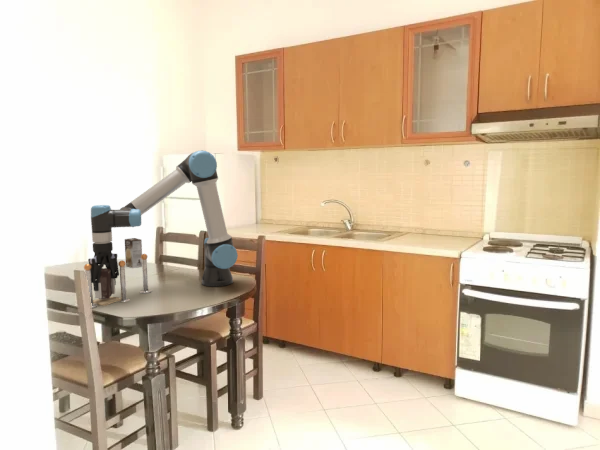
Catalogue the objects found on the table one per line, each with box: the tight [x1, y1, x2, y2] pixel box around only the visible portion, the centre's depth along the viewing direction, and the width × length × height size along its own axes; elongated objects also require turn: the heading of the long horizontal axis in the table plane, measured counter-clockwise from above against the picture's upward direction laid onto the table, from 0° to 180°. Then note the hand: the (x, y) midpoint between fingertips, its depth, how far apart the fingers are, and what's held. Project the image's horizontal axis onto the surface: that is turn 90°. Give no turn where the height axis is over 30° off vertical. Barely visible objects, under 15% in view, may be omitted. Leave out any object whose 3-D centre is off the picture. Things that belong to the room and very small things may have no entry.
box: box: [99, 267, 113, 299], centre depth 184 cm, size 6×4×12 cm
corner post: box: [117, 260, 131, 303], centre depth 186 cm, size 5×5×18 cm
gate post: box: [139, 253, 153, 294], centre depth 199 cm, size 5×5×18 cm
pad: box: [93, 295, 121, 307], centre depth 185 cm, size 9×10×1 cm
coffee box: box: [124, 237, 143, 269], centre depth 257 cm, size 9×6×16 cm
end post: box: [83, 263, 98, 309], centre depth 176 cm, size 5×5×18 cm
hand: (105, 295), depth 185 cm, fingers closed on box, 7 cm apart
